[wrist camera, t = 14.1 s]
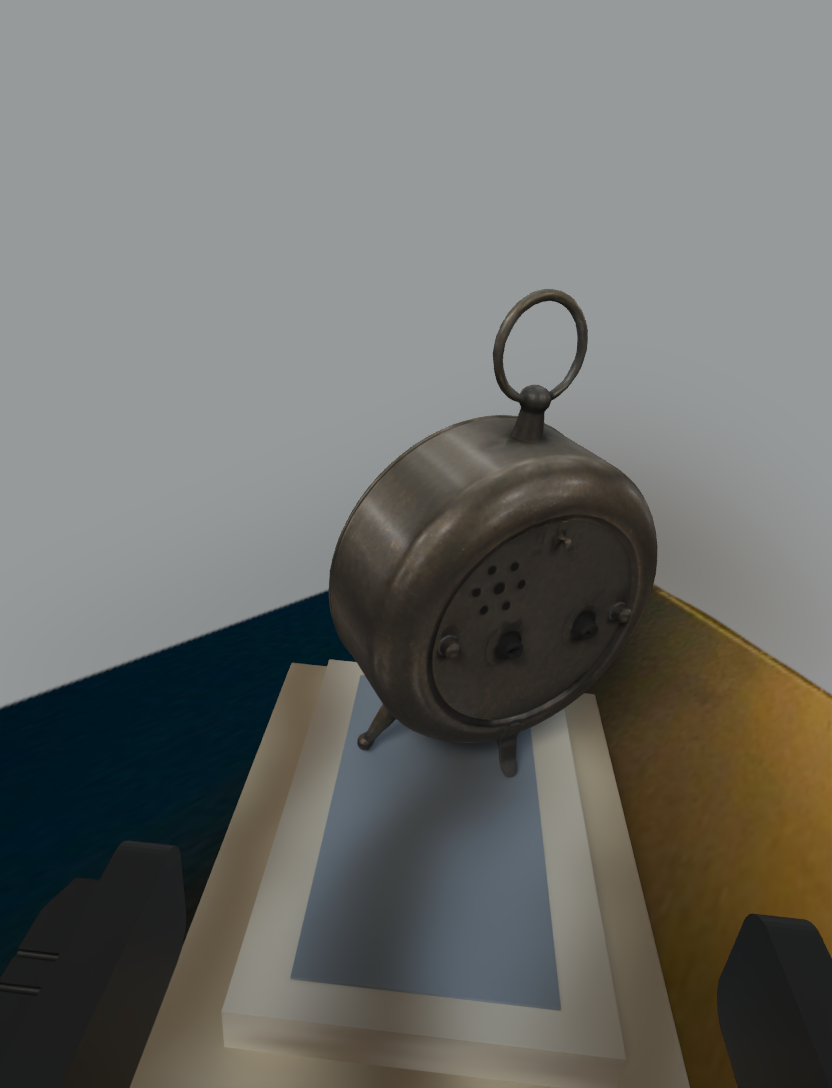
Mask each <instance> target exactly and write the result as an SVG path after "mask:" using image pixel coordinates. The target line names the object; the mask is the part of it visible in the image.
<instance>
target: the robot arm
mask: <svg viewBox="0 0 832 1088" xmlns="http://www.w3.org/2000/svg"><path fill="white" fill-rule="evenodd" d="M185 928H186V905H185V895H184V884H183V874H182V864H181V854H180V850H179V848H178V847H177V846H173V845H164V844H155V843H146V842H137V841H128V840H127V841H124V842H122V843H121V844H120V845H119V846H118V848H117V849H116V851H115V852H114V854H113V856H112V858H111V860H110V861H109V863H108V865H107V867H106V869H105V871H104V873H103V874H102V876H101V878H100V880H95V879H87V878H78V877H76V878H75V879H74V880H73V881H72V882H71V883H70V884H69V885H67V886H66V887H65V888H64V889H63V890H62V891H61V892H60V893H59V894H58V895H57V896H55V897H54V898H53V899H52V900H51V901H50V902H49V903H48V904H47V905H46V906H44V907H43V908H42V909H41V911H40V913H39V914H38V916H37V918H36V919H35V921H34V923H33V924H32V926H31V928H30V929H29V931H28V933H27V934H26V936H25V938H24V939H23V941H22V943H21V944H20V946H19V948H18V952H17V955H16V956H15V957H13V958H12V959H11V961H10V963H9V964H8V966H7V968H6V969H5V971H4V973H3V974H2V976H1V978H0V1088H130V1086H131V1083H132V1080H133V1078H134V1075H135V1072H136V1070H137V1067H138V1065H139V1062H140V1059H141V1057H142V1054H143V1052H144V1049H145V1046H146V1044H147V1041H148V1038H149V1036H150V1033H151V1031H152V1028H153V1025H154V1023H155V1020H156V1017H157V1015H158V1012H159V1010H160V1007H161V1004H162V1002H163V999H164V996H165V994H166V991H167V989H168V986H169V983H170V981H171V978H172V976H173V973H174V970H175V968H176V965H177V962H178V959H179V956H180V953H181V949H182V945H183V940H184V935H185ZM717 1007H718V1016H719V1022H720V1027H721V1031H722V1034H723V1038H724V1041H725V1045H726V1048H727V1051H728V1055H729V1058H730V1061H731V1065H732V1068H733V1072H734V1075H735V1078H736V1082H737V1085H738V1088H832V959H831V956H830V954H829V952H828V950H827V948H826V946H825V944H824V942H823V939H822V937H821V935H820V934H819V932H818V930H817V929H816V927H815V926H814V925H813V924H812V923H811V922H809V921H807V920H804V919H795V918H786V917H777V916H768V915H760V914H750V915H748V916H747V917H746V918H745V920H744V922H743V925H742V927H741V929H740V932H739V934H738V936H737V939H736V941H735V944H734V946H733V948H732V951H731V953H730V955H729V958H728V960H727V962H726V965H725V967H724V970H723V972H722V974H721V977H720V980H719V984H718V991H717Z"/></svg>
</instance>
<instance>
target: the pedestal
mask: <svg viewBox="0 0 832 1088" xmlns="http://www.w3.org/2000/svg"><path fill="white" fill-rule="evenodd" d="M382 705H383V704H382V702H381V700H380V699H379V697H378V696H377V694H376V692H375V691H374V689H373V688H372V686H371V685H370V683H369V681H368V680H367V678H366V677H365V675H364V673H363V672H362V670H361V669H360V667H359V665H358V664H357V662H348V661H339V660H329V663H328V666H317V665H307V664H298V663H292V664H291V666H290V669H289V671H288V674H287V677H286V679H285V682H284V684H283V687H282V690H281V692H280V695H279V697H278V700H277V703H276V705H275V708H274V710H273V713H272V716H271V718H270V721H269V723H268V726H267V729H266V731H265V734H264V736H263V739H262V742H261V744H260V747H259V749H258V752H257V755H256V757H255V760H254V762H253V765H252V768H251V770H250V773H249V775H248V778H247V781H246V783H245V786H244V788H243V791H242V794H241V796H240V799H239V801H238V804H237V807H236V809H235V812H234V814H233V817H232V820H231V822H230V825H229V827H228V830H227V833H226V835H225V838H224V840H223V843H222V846H221V848H220V851H219V853H218V856H217V859H216V861H215V864H214V866H213V869H212V872H211V874H210V877H209V879H208V882H207V885H206V887H205V890H204V892H203V895H202V898H201V900H200V903H199V905H198V908H197V911H196V913H195V916H194V918H193V921H192V924H191V926H190V929H189V931H188V934H187V937H186V939H185V942H184V944H183V947H182V950H181V953H180V956H179V959H178V962H177V965H176V968H175V970H174V973H173V976H172V978H171V981H170V983H169V986H168V989H167V991H166V994H165V996H164V999H163V1002H162V1004H161V1007H160V1010H159V1012H158V1015H157V1017H156V1020H155V1023H154V1025H153V1028H152V1031H151V1033H150V1036H149V1038H148V1041H147V1044H146V1046H145V1049H144V1052H143V1054H142V1057H141V1059H140V1062H139V1065H138V1067H137V1070H136V1072H135V1075H134V1078H133V1080H132V1083H131V1086H130V1088H690V1085H689V1081H688V1077H687V1073H686V1069H685V1065H684V1061H683V1057H682V1052H681V1048H680V1044H679V1040H678V1036H677V1032H676V1028H675V1024H674V1019H673V1015H672V1011H671V1007H670V1003H669V999H668V995H667V991H666V986H665V982H664V978H663V974H662V970H661V966H660V962H659V958H658V953H657V949H656V945H655V941H654V937H653V933H652V929H651V925H650V920H649V916H648V912H647V908H646V904H645V900H644V896H643V892H642V887H641V883H640V879H639V875H638V871H637V867H636V863H635V859H634V855H633V850H632V846H631V842H630V838H629V834H628V830H627V826H626V822H625V817H624V813H623V809H622V805H621V801H620V797H619V793H618V789H617V784H616V780H615V776H614V772H613V768H612V764H611V760H610V756H609V751H608V747H607V743H606V739H605V735H604V731H603V727H602V723H601V718H600V714H599V710H598V706H597V702H596V698H595V694H587V693H584V694H582V695H581V696H580V697H579V698H578V699H576V700H575V701H574V702H572V703H571V704H570V705H568V706H567V707H566V708H564V709H563V710H561V711H560V712H558V713H556V714H555V715H553V716H552V717H550V718H548V719H546V720H544V721H543V722H541V723H539V724H537V725H535V726H533V727H531V728H528V729H526V730H524V731H521V732H519V734H518V736H517V747H516V761H517V772H516V774H515V775H514V776H513V777H506V776H505V775H504V773H503V772H502V771H501V768H500V763H499V748H498V743H497V741H496V740H491V741H484V742H475V743H456V742H447V741H441V740H436V739H432V738H429V737H426V736H424V735H421V734H419V733H416V732H414V731H412V730H411V729H409V728H407V727H406V726H404V725H403V724H401V723H400V722H399V721H398V720H397V719H396V720H395V721H394V722H393V723H392V724H391V725H390V726H389V727H388V728H387V729H385V730H384V731H383V732H382V733H381V734H380V735H379V736H378V737H377V738H376V739H375V741H374V743H373V745H372V746H371V748H370V749H369V750H361V749H360V748H359V747H358V745H357V740H358V737H359V736H360V734H362V733H364V732H367V730H368V729H369V727H370V725H371V723H372V721H373V720H374V718H375V716H376V715H377V713H378V711H379V709H380V707H381V706H382Z"/></svg>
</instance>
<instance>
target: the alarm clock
mask: <svg viewBox="0 0 832 1088" xmlns="http://www.w3.org/2000/svg"><path fill="white" fill-rule="evenodd" d="M543 301H555V302H558V303H560V304H562V305H563V306H565V307H566V308H567V309H568V310H569V312H570V313H571V315H572V316H573V319H574V321H575V323H576V328H577V335H578V342H577V353H576V356H575V360H574V362H573V364H572V366H571V368H570V370H569V372H568V374H567V376H566V377H565V379H564V380H563V381H562V382H561V383H560V384H559V385H558V386H557V387H555V388H554V389H553V390H551V391H550V392H549V391H548V390H547V389H546V388H544V387H542V386H540V385H530V386H527V387H525V388H524V389H523V390H522V391H521V393H520V394H519V393H517V392H516V391H515V390H514V389H513V388H512V387H511V386H510V385H509V384H508V381H507V379H506V377H505V373H504V369H503V352H504V347H505V343H506V340H507V338H508V336H509V334H510V332H511V329H512V327H513V326H514V324H515V322H516V321H517V320H518V318H519V317H520V316H521V315H522V313H524V312H525V311H526V310H527V309H529V308H530V307H532V306H533V305H535V304H538V303H540V302H543ZM587 333H588V330H587V325H586V320H585V317H584V315H583V312H582V310H581V308H580V307H579V306H578V304H577V303H576V301H575V300H574V299H573V298H572V297H570V296H569V295H567V294H566V293H564V292H562V291H559V290H554V289H544V290H538V291H535V292H532V293H531V294H529V295H528V296H526V297H525V298H523V299H522V300H520V301H519V302H518V303H517V304H516V305H515V306H514V307H513V308H512V309H511V310H510V312H509V313H508V315H507V316H506V318H505V320H504V321H503V322H502V324H501V326H500V329H499V332H498V334H497V336H496V340H495V344H494V350H493V361H494V372H495V376H496V380H497V383H498V385H499V387H500V389H501V390H502V391H503V393H504V394H505V395H506V396H507V397H508V398H510V399H512V400H514V401H517V402H519V403H520V405H521V410H520V413H519V416H509V415H498V416H497V415H496V416H485V417H479V418H474V419H471V420H467V421H463V422H460V423H457V424H454V425H452V426H449V427H447V428H445V429H442V430H440V431H438V432H436V433H434V434H432V435H430V436H428V437H426V438H425V439H424V440H422V441H420V442H418V443H417V444H415V445H414V446H413V447H411V448H410V449H408V450H407V451H406V452H404V453H403V454H402V455H400V456H399V457H398V458H397V459H396V460H395V461H394V462H392V463H391V464H390V465H389V466H388V467H387V468H386V469H385V470H384V471H383V472H382V473H381V474H380V475H379V476H378V477H377V478H376V479H375V481H374V482H373V483H372V484H371V485H370V486H369V488H368V489H367V490H366V492H365V493H364V494H363V496H362V497H361V498H360V500H359V501H358V503H357V504H356V506H355V508H354V509H353V511H352V512H351V514H350V516H349V518H348V520H347V522H346V524H345V526H344V528H343V530H342V532H341V535H340V537H339V540H338V542H337V545H336V549H335V553H334V556H333V559H332V565H331V569H330V579H329V603H330V610H331V615H332V619H333V622H334V625H335V629H336V631H337V633H338V635H339V638H340V640H341V642H342V643H343V645H344V646H345V647H346V649H347V650H348V651H349V653H350V654H351V655H352V656H353V657H354V659H355V661H356V662H357V664H358V665H359V667H360V669H361V670H362V672H363V673H364V675H365V677H366V678H367V680H368V681H369V683H370V685H371V686H372V688H373V689H374V691H375V692H376V694H377V696H378V697H379V699H380V700H381V702H382V704H383V705H382V706H381V707H380V709H379V711H378V713H377V715H376V716H375V718H374V720H373V721H372V723H371V725H370V727H369V729H368V730H367V732H364V733H362V734H360V736H359V737H358V740H357V745H358V747H359V748H360V749H361V750H369V749H370V748H371V746H372V745H373V743H374V741H375V739H376V738H377V737H378V736H379V735H380V734H381V733H382V732H383V731H384V730H385V729H387V728H388V727H389V726H390V725H391V724H392V723H393V722H394V721H395V720H396V719H397V720H398V721H399V722H400V723H401V724H403V725H404V726H406V727H407V728H409V729H411V730H412V731H414V732H416V733H419V734H421V735H424V736H426V737H429V738H432V739H436V740H441V741H447V742H456V743H475V742H484V741H491V740H496V741H497V743H498V748H499V763H500V768H501V771H502V772H503V773H504V775H505V776H506V777H513V776H514V775H515V774H516V772H517V761H516V747H517V736H518V734H519V732H521V731H524V730H526V729H528V728H531V727H533V726H535V725H537V724H539V723H541V722H543V721H544V720H546V719H548V718H550V717H552V716H553V715H555V714H556V713H558V712H560V711H561V710H563V709H564V708H566V707H567V706H568V705H570V704H571V703H572V702H574V701H575V700H576V699H578V698H579V697H580V696H581V695H582V694H584V693H585V692H586V691H587V690H588V689H589V688H590V687H592V686H593V685H594V684H595V683H596V682H597V681H598V680H599V679H600V677H601V676H602V675H603V674H604V673H605V672H606V671H607V670H608V669H609V667H610V666H611V665H612V664H613V663H614V661H615V660H616V659H617V658H618V656H619V655H620V653H621V652H622V651H623V649H624V648H625V646H626V645H627V643H628V642H629V640H630V638H631V637H632V635H633V633H634V631H635V630H636V628H637V626H638V624H639V622H640V620H641V618H642V616H643V613H644V611H645V609H646V606H647V603H648V600H649V597H650V594H651V591H652V587H653V583H654V578H655V574H656V566H657V565H656V564H657V539H656V531H655V526H654V522H653V518H652V515H651V512H650V510H649V507H648V505H647V503H646V501H645V499H644V497H643V495H642V494H641V492H640V490H639V489H638V488H637V486H636V485H635V484H634V483H633V482H632V481H631V480H630V479H629V478H628V477H627V476H626V475H625V474H624V473H622V472H621V471H620V470H619V469H618V468H616V467H614V466H613V465H611V464H610V463H608V462H606V461H605V460H603V459H602V458H600V457H598V456H597V455H595V454H593V453H592V452H590V451H588V450H587V449H585V448H584V447H582V446H580V445H578V444H577V443H575V442H573V441H572V440H570V439H568V438H567V437H565V436H564V435H563V434H561V433H560V432H558V431H557V430H556V429H554V428H552V427H550V426H549V425H547V424H545V423H544V412H545V410H546V409H547V408H548V407H549V405H550V402H551V400H553V399H555V398H556V397H558V396H559V395H560V394H561V393H562V392H563V391H564V390H566V389H567V388H568V386H569V385H570V384H571V382H572V381H573V380H574V378H575V377H576V376H577V374H578V372H579V370H580V369H581V366H582V364H583V361H584V357H585V354H586V350H587V340H588V336H587Z"/></svg>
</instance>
